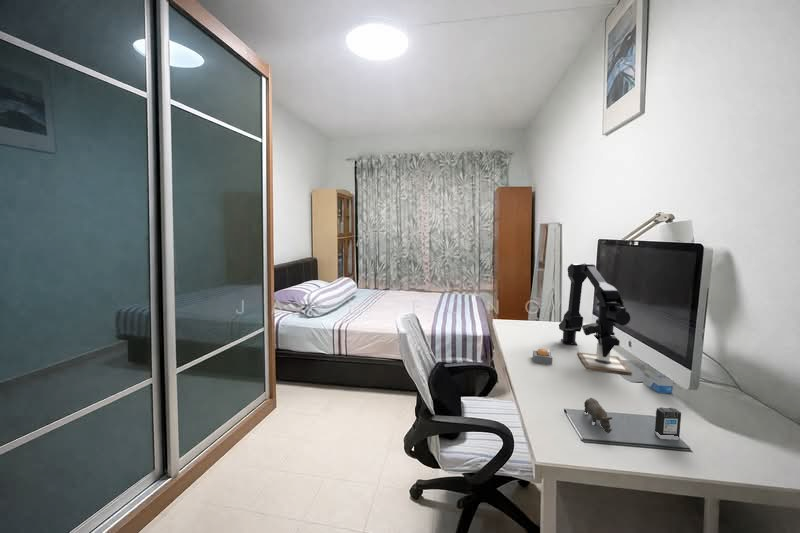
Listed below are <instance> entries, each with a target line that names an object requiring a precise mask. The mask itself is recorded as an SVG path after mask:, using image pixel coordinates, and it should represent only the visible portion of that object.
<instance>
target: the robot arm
mask: <svg viewBox="0 0 800 533" xmlns="http://www.w3.org/2000/svg"><path fill="white" fill-rule="evenodd" d="M567 277H568V278H569V281H570V288H569V289H570V290H569V299H568V307H567V308H568V309H567V310H566V312H565V313H564V314H563V318H562V320H561V322H560V323H559V324H558V328H559V330H560V331H561V332H562V338H561V339H560V341H561V343H562V344H565V345H574V346H577V345H578V343H577V341H576V339H577V337H576V336H577V332H580V333H581V331H582V330H583V334H584V335H585V336H590V335H593V336H594V338H596V340H597V343H601V344H602V353H603V357H607V355H608V354H609V352H610V353H611V351H612V350H613V349H614V347H617V346H618V347H619V346H620V343H621V341H620V340H619V339H618V337H617V336H615V335H616V334H615V332H614V327H615V326H616V324H617V325H619V326H626V325H628V324H629V323H630V321H631V315H630V312H628V311H627V308H626V307H625V305H624V301H623V299H622V297H621V295H620V294H621V293H620V292H619V290H618V289H617V288H616V287H615V286H614V285H612V284H609V283H607V281H606V280H605V278H604V277H603V275H601V273H600V272H599V271H598V269H597V267H596V264H594V263H586V262H585V263H571V264H570V265H568V267H567ZM586 279H588V280H589V281H590V284H591V285H592V286H593V287H594V290H595V293H594V294H595V296H596V299H597V301H598V302H597V303H596V306H597V307H598V314H597V315H598V318H596V319H595V322H593V323H588V324H583V323H584V317H583V316H582V315H581V312H580V309H581V308H580V307H581V299H582V290H583V283H584V282H585V280H586Z"/></svg>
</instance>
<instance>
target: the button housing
mask: <svg viewBox="0 0 800 533" xmlns="http://www.w3.org/2000/svg"><path fill="white" fill-rule="evenodd" d="M537 354H538V350H532V359H533V363H535V364H543V365H550V366H551V365H553V355H552V352H551V351H548V356H541V355H537Z"/></svg>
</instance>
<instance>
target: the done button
mask: <svg viewBox="0 0 800 533" xmlns="http://www.w3.org/2000/svg"><path fill="white" fill-rule="evenodd" d="M537 351H538V354H537V355H541V356H548V352H549V351H548V350H547V349H544V348H538V349H537Z"/></svg>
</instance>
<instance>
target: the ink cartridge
mask: <svg viewBox="0 0 800 533" xmlns="http://www.w3.org/2000/svg"><path fill="white" fill-rule="evenodd" d="M681 420H682V412H681V411H679V410H678V409H676V408H673V407H657V408H656V410H655V424H654V425H655V426H654V432H655V431H656V432H658V433H659V434H660V435H674V436H678V437H679V438H680V436H681V435H680V431H681V422H682V421H681Z"/></svg>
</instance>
